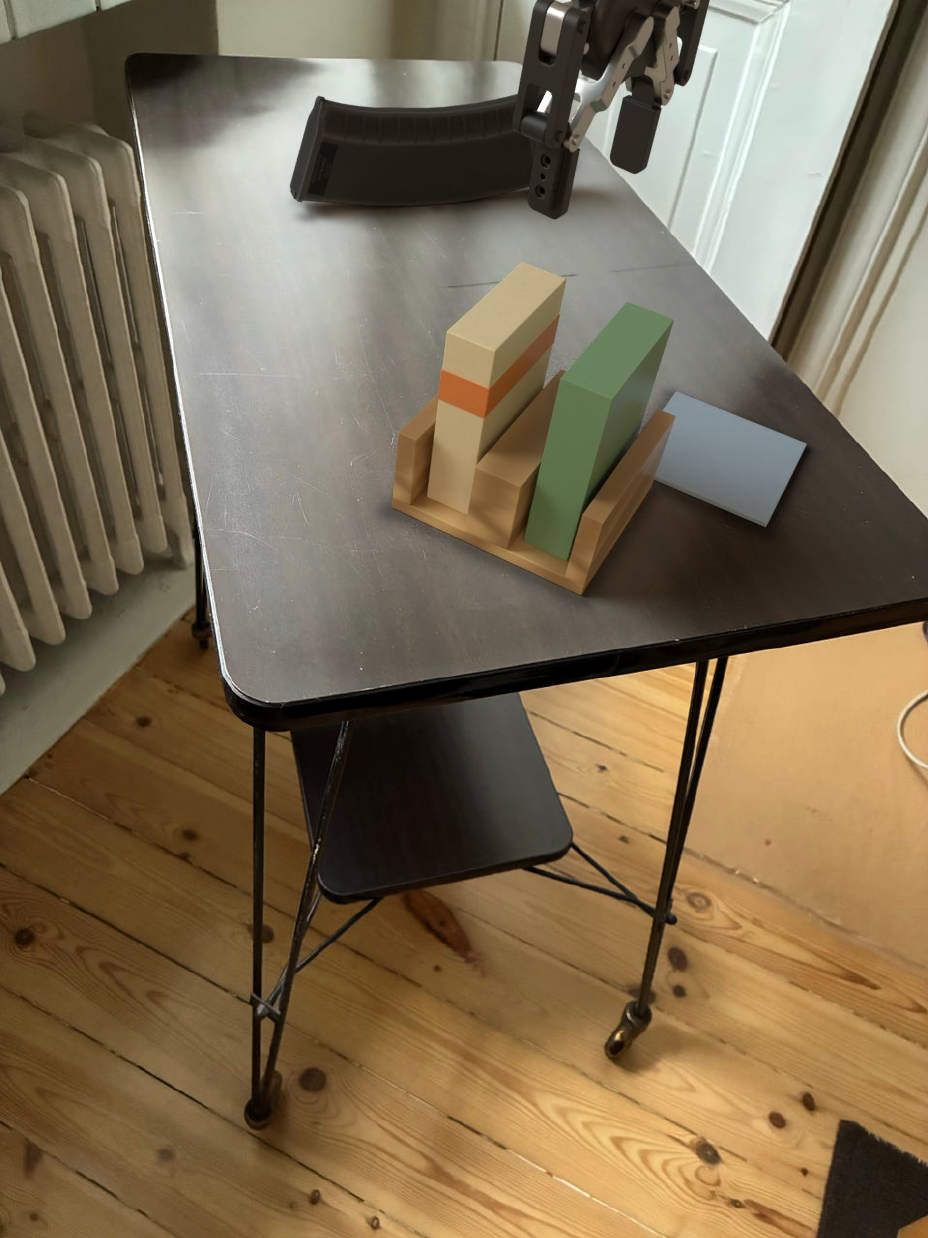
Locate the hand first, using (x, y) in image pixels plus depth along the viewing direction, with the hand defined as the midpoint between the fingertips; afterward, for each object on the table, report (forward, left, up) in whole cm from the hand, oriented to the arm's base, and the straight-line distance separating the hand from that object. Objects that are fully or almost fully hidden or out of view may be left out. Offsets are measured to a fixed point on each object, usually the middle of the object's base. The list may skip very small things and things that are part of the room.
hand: (588, 188), depth 56 cm
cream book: (+4, -2, -24) cm, 24 cm away
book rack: (0, -2, -25) cm, 25 cm away
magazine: (+29, -39, -25) cm, 54 cm away
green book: (-4, -2, -24) cm, 24 cm away
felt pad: (-11, -16, -25) cm, 31 cm away
